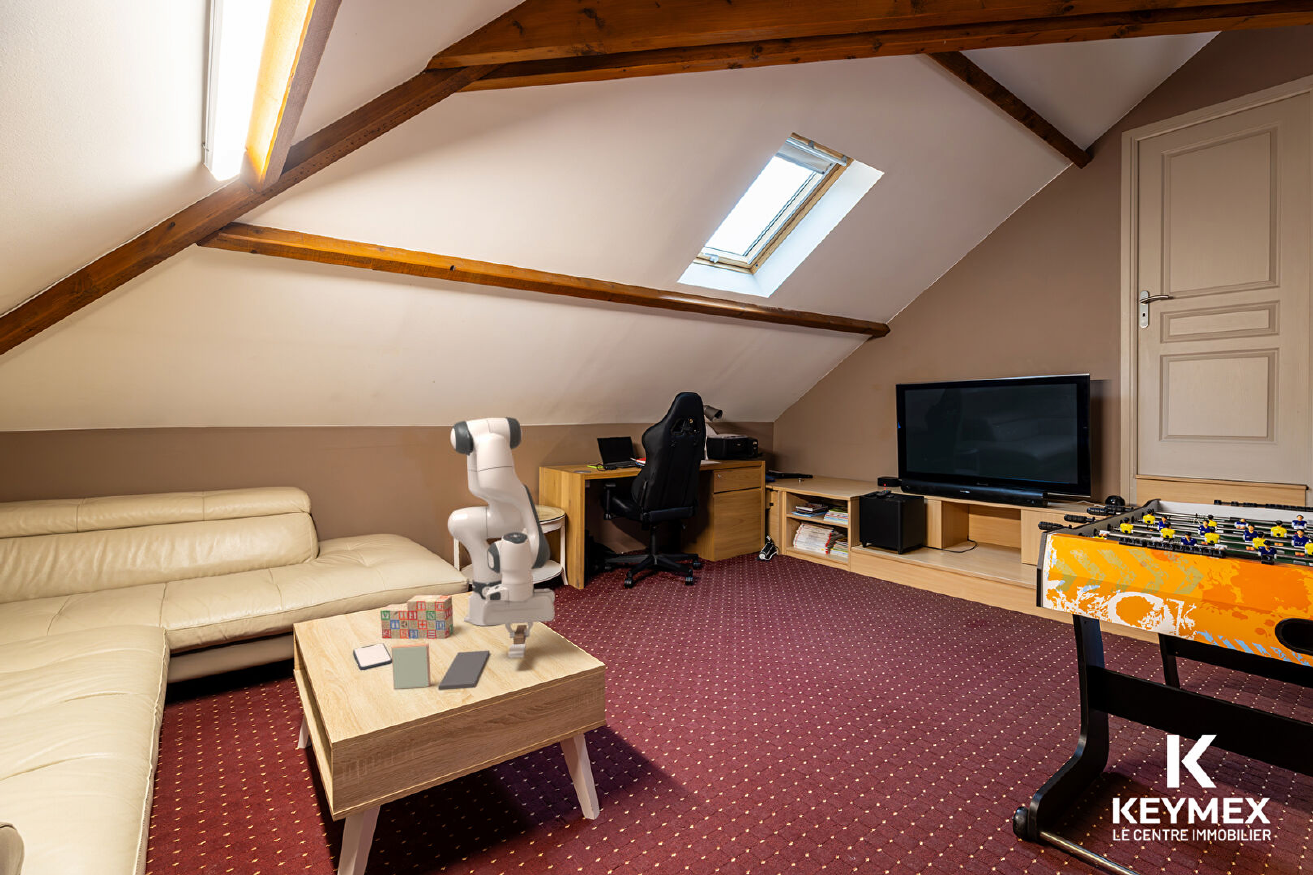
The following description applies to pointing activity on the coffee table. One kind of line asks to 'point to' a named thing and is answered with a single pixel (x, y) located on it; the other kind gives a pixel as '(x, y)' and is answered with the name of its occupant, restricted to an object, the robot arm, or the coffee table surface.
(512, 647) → the brown handled tool
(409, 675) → the tile
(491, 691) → the coffee table surface
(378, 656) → the smartphone
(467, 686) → the rubber mat
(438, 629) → the stack of blocks
